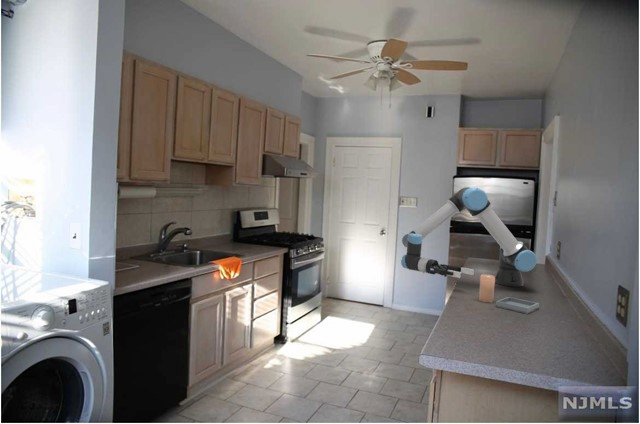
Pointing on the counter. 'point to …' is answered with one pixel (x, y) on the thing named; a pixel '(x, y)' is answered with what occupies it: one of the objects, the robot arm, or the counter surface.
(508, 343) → the counter surface
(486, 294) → the light orange tall cylinder
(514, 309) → the grey tray
